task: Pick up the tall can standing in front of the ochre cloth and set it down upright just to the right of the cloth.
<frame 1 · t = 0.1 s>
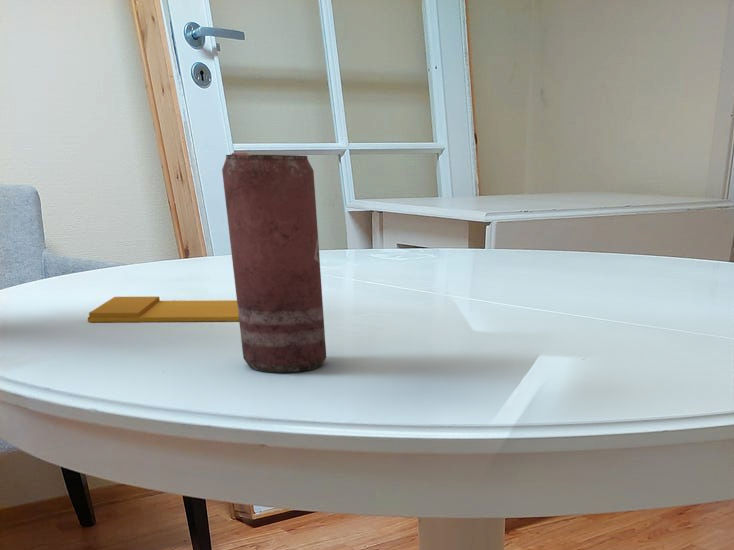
can: (284, 367, 67), on the table
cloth: (207, 312, 87), on the table
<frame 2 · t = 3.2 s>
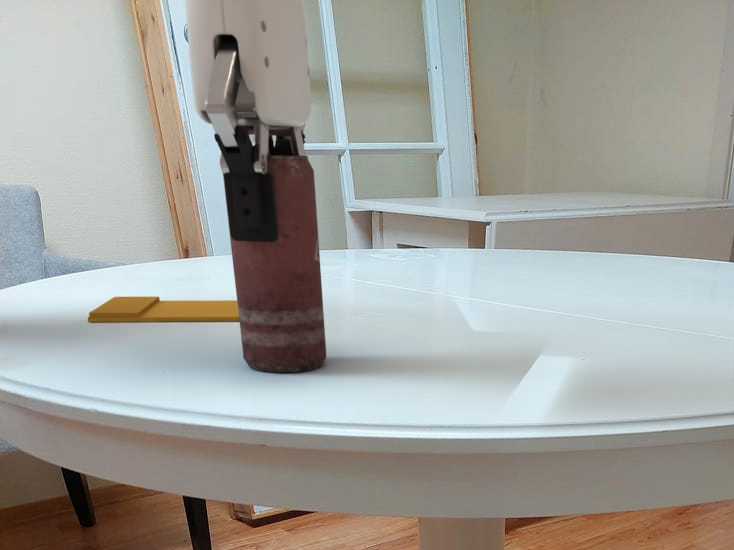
hand: (272, 233, 62), 9 cm above the table, tool pointing down, fingers closed on can, 6 cm apart
can: (284, 367, 67), on the table, touching gripper
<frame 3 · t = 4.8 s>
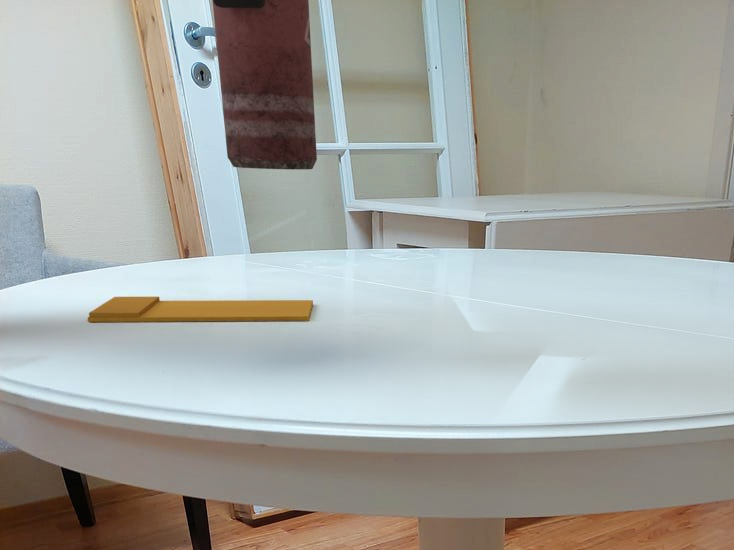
hand: (259, 11, 58), 22 cm above the table, tool pointing down, fingers closed on can, 6 cm apart
can: (271, 170, 62), point 13 cm above the table, touching gripper
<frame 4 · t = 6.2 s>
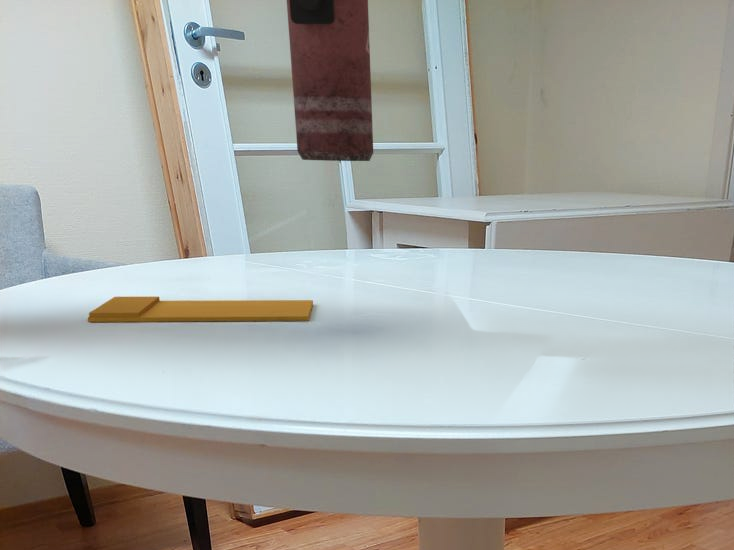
hand: (326, 26, 68), 22 cm above the table, tool pointing down, fingers closed on can, 6 cm apart
can: (334, 162, 72), point 13 cm above the table, touching gripper
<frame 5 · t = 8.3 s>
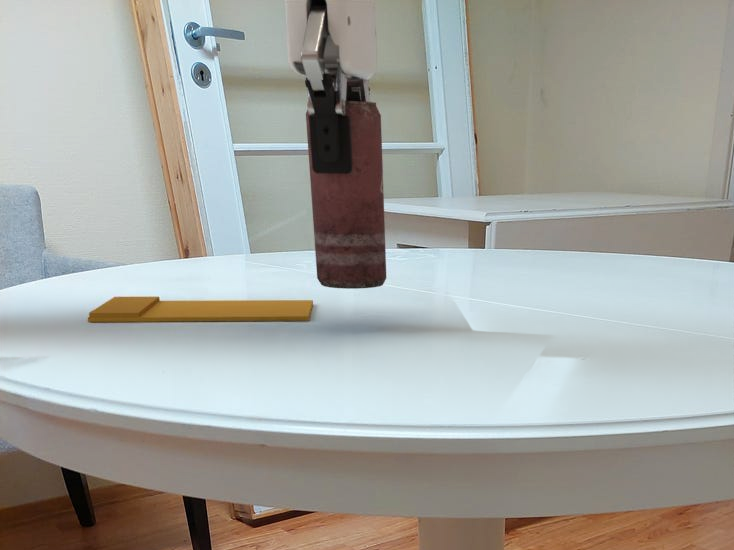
hand: (344, 169, 74), 13 cm above the table, tool pointing down, fingers closed on can, 6 cm apart
can: (350, 286, 79), point 4 cm above the table, touching gripper
when the fingers open (9 cm above the table, at t = 9.7 s): can stays where it is, on the table.
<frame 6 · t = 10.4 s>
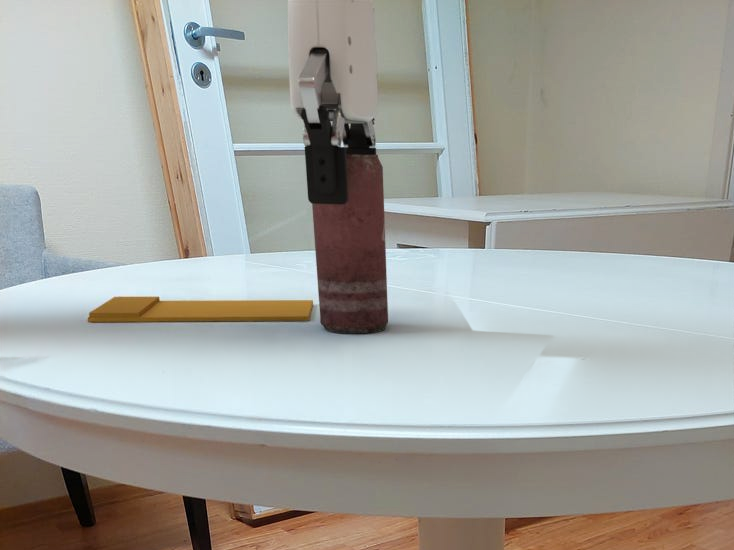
hand: (345, 200, 76), 10 cm above the table, tool pointing down, fingers open, 9 cm apart
can: (353, 330, 81), on the table
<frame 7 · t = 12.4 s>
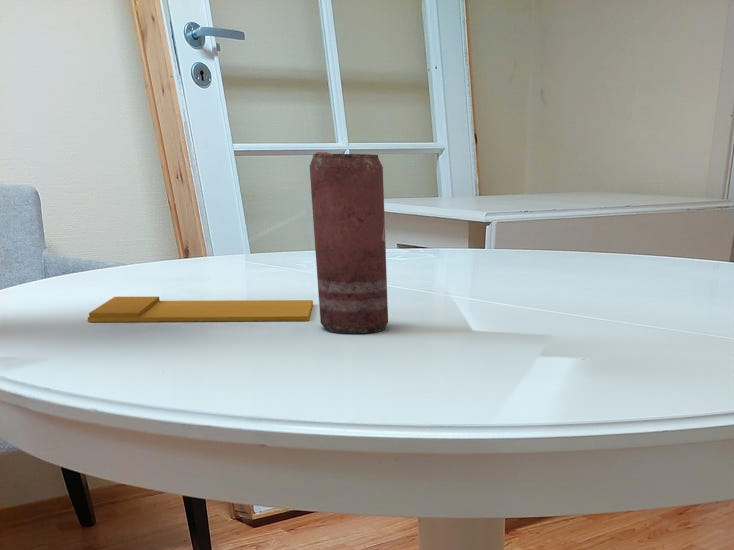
nothing on the table moved.
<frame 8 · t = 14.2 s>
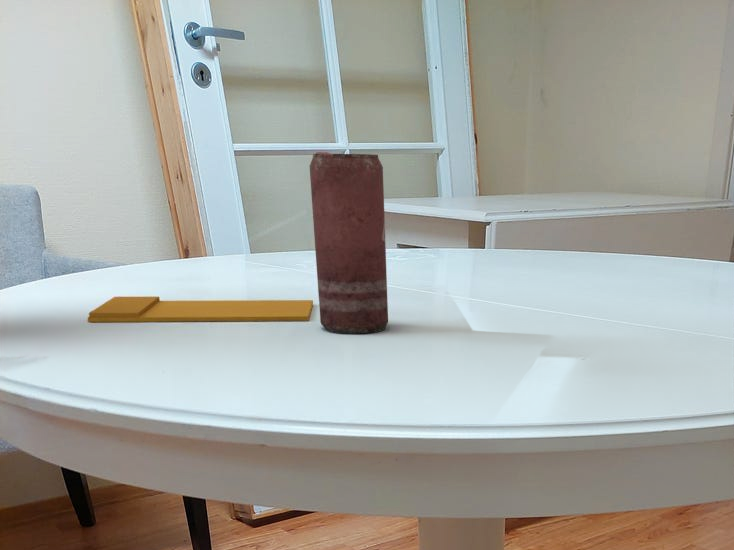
nothing on the table moved.
at the end: can inside the target area on the table beside the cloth (0.0 cm from its centre), on the table; can tilted 0° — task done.
